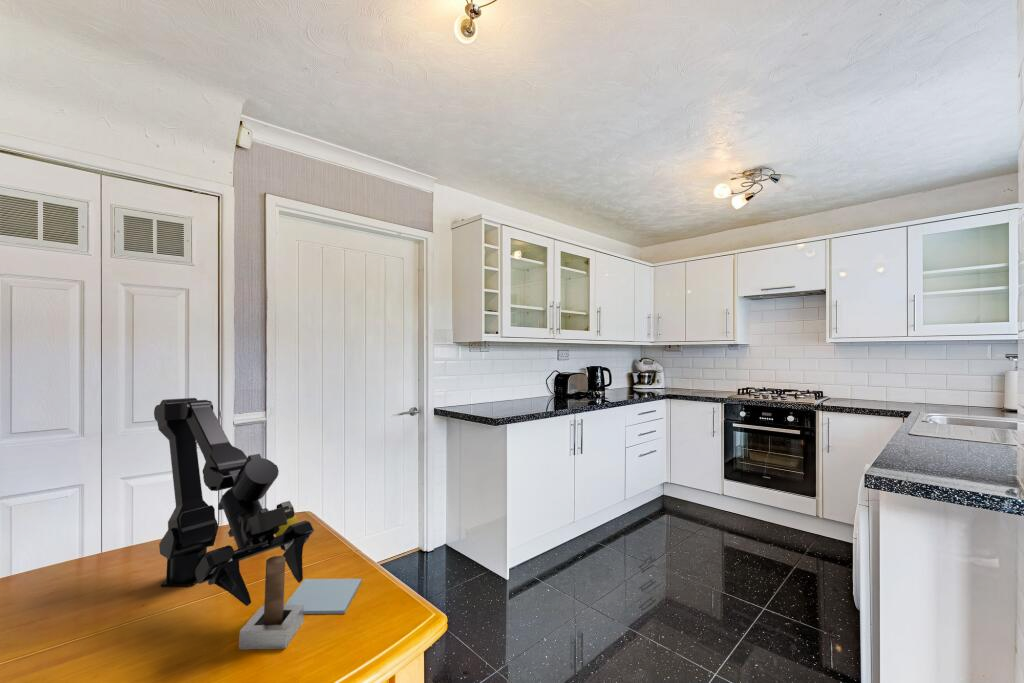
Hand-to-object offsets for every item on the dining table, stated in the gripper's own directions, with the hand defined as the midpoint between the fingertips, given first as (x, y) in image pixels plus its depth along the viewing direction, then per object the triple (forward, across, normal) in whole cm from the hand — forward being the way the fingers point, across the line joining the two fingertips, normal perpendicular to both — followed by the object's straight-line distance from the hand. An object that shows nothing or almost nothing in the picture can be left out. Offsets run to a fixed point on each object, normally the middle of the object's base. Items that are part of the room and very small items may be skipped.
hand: (276, 592), depth 78 cm
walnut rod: (+5, 0, +6) cm, 8 cm away
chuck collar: (+5, 0, +6) cm, 8 cm away
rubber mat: (+2, +12, +8) cm, 15 cm away
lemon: (-20, +23, +31) cm, 44 cm away
